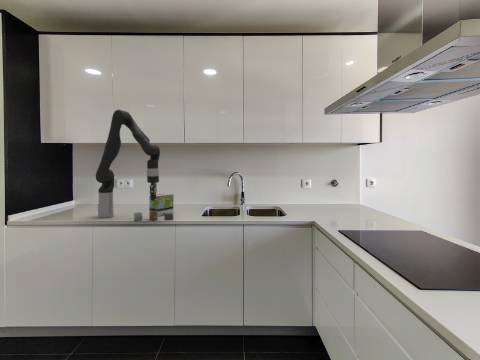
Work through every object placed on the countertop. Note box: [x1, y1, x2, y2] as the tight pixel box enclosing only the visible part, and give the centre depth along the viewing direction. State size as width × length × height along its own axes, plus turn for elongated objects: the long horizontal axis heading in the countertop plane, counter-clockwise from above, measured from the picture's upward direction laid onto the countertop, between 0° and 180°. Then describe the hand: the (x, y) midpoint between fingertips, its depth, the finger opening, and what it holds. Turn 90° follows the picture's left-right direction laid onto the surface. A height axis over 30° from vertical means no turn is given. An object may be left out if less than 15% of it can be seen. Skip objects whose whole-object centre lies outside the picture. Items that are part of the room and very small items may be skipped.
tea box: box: [148, 192, 174, 217], centre depth 221 cm, size 15×10×15 cm, turn 149°
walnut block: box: [149, 211, 159, 222], centre depth 201 cm, size 4×4×6 cm
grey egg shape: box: [133, 211, 143, 222], centre depth 200 cm, size 5×5×5 cm
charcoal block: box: [163, 213, 174, 221], centre depth 203 cm, size 5×5×4 cm
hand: (153, 199), depth 200 cm, fingers open, 8 cm apart
